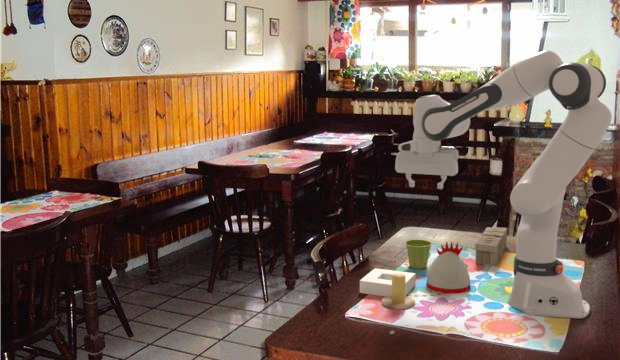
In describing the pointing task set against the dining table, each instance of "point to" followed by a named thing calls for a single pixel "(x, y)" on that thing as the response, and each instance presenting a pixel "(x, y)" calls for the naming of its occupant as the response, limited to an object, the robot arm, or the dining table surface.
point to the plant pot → (418, 253)
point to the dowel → (398, 288)
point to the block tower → (491, 246)
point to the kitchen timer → (448, 272)
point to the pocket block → (384, 282)
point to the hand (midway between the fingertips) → (425, 187)
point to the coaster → (408, 304)
